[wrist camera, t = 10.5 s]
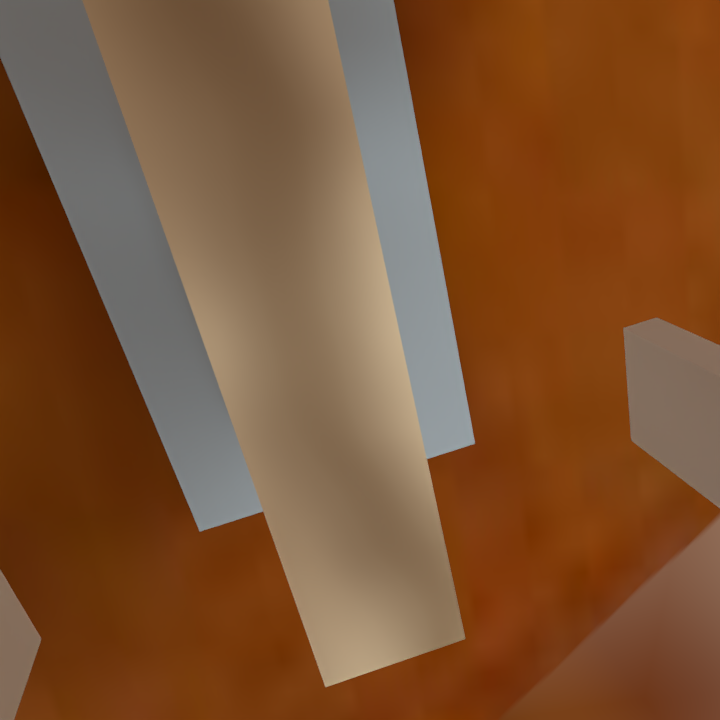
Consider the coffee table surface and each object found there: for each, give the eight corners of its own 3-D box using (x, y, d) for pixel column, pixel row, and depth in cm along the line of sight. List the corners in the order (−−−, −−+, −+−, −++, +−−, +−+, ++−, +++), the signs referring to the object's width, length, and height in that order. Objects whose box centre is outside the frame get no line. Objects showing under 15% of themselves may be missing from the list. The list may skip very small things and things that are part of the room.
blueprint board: (200, 518, 35) (194, 627, 28) (-15, 1, 25) (-118, -49, 17) (467, 433, 37) (530, 515, 29) (369, -87, 26) (427, -166, 19)
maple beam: (301, 553, 27) (325, 687, 21) (111, -14, 19) (53, -81, 12) (409, 518, 28) (465, 638, 21) (274, -50, 19) (299, -133, 13)
